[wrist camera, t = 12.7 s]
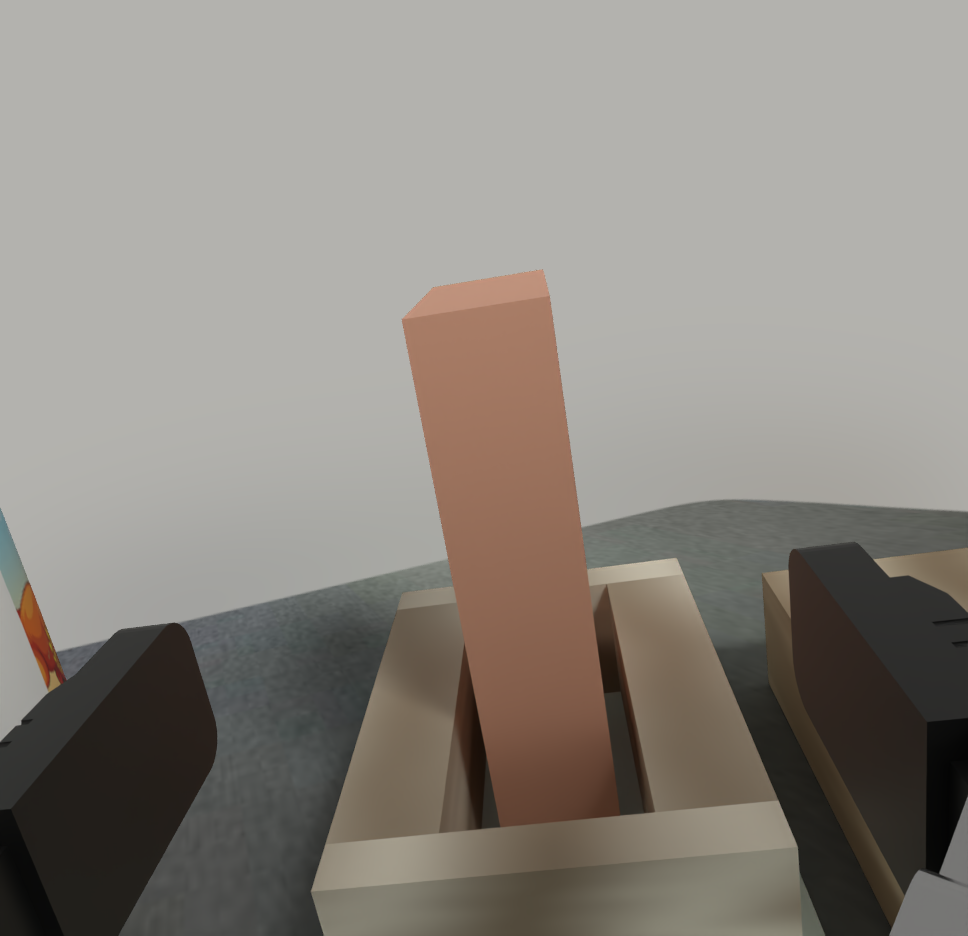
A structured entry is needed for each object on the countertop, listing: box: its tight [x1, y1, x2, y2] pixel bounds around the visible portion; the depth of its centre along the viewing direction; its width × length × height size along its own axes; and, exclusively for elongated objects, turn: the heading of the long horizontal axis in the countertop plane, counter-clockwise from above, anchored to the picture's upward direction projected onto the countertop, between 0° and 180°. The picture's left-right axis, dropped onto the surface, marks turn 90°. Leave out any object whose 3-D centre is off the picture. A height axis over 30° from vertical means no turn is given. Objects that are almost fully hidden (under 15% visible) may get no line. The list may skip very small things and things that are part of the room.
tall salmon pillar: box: [402, 270, 620, 827], centre depth 21 cm, size 3×6×14 cm, turn 177°
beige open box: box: [311, 558, 803, 936], centre depth 22 cm, size 9×12×4 cm
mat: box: [482, 691, 825, 936], centre depth 22 cm, size 11×16×1 cm
